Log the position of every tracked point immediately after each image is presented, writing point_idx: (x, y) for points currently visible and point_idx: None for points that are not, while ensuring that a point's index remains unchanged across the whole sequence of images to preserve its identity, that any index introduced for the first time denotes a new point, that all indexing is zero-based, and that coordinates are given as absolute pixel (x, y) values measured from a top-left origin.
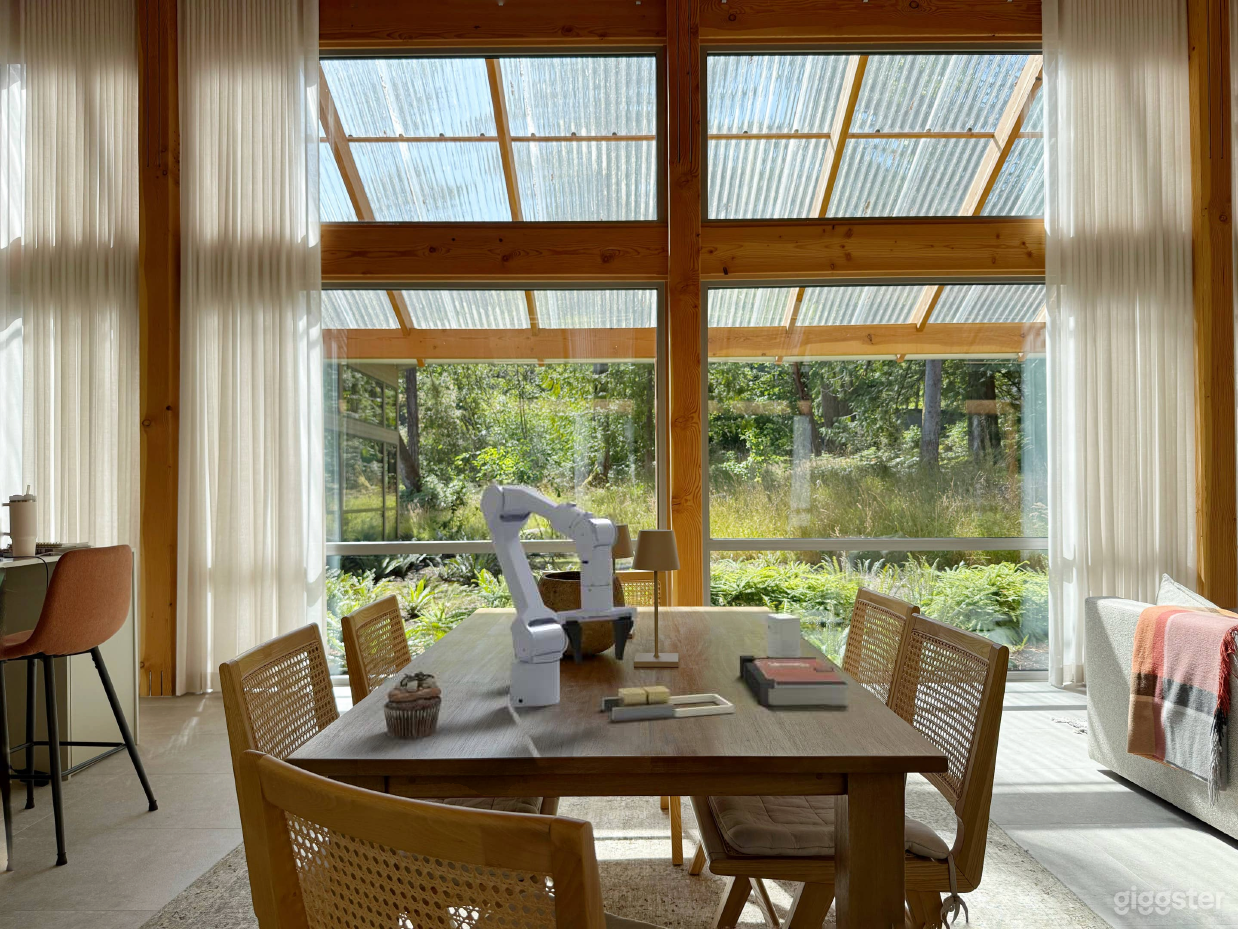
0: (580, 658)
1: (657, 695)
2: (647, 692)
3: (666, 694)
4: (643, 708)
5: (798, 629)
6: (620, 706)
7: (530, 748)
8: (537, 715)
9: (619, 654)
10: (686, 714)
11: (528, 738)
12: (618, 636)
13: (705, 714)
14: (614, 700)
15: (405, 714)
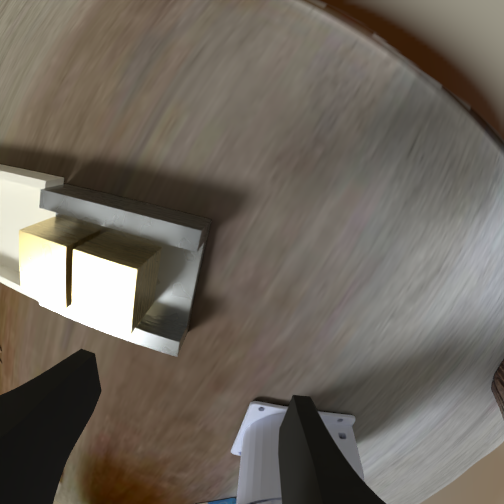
0: (307, 413)
1: (51, 236)
2: (67, 257)
3: (31, 230)
4: (113, 207)
5: None
6: (150, 293)
7: (466, 178)
8: (326, 391)
9: (80, 368)
10: (35, 175)
11: (439, 248)
12: (39, 446)
13: (8, 168)
14: (151, 330)
15: None
